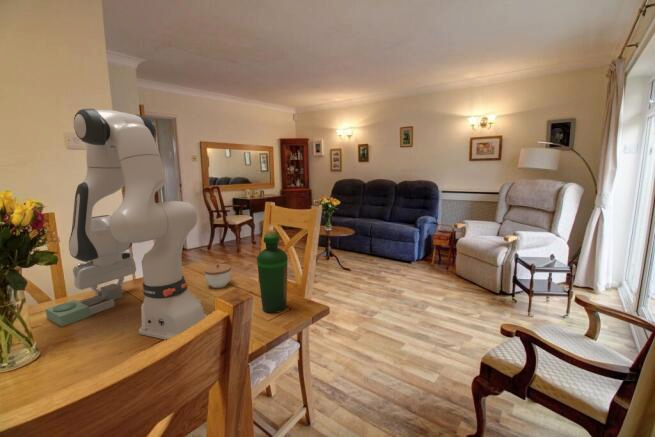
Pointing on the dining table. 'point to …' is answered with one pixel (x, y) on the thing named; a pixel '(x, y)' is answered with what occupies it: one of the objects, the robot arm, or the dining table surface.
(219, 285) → the lidded jar
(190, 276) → the dining table surface
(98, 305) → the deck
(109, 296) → the grey rectangular block
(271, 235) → the bottle
